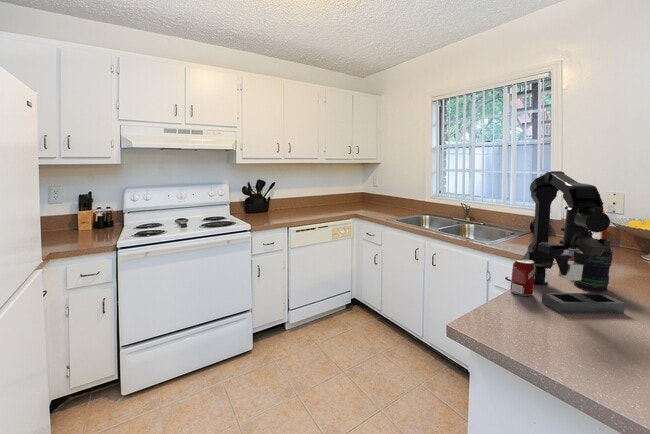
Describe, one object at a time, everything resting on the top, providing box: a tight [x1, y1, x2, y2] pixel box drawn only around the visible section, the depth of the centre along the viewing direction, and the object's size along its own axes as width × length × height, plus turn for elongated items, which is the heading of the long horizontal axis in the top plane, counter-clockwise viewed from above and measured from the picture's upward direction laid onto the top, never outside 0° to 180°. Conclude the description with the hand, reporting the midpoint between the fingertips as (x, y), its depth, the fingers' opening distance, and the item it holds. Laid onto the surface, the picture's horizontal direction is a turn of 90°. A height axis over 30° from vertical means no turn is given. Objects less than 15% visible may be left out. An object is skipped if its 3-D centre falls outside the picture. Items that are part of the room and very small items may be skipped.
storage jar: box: [573, 249, 614, 293], centre depth 117 cm, size 10×10×15 cm
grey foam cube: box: [558, 261, 583, 281], centre depth 99 cm, size 4×4×5 cm
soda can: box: [509, 258, 536, 297], centre depth 111 cm, size 7×7×12 cm
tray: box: [541, 292, 626, 314], centre depth 100 cm, size 8×20×3 cm, turn 91°
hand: (570, 275), depth 99 cm, fingers closed on grey foam cube, 4 cm apart
